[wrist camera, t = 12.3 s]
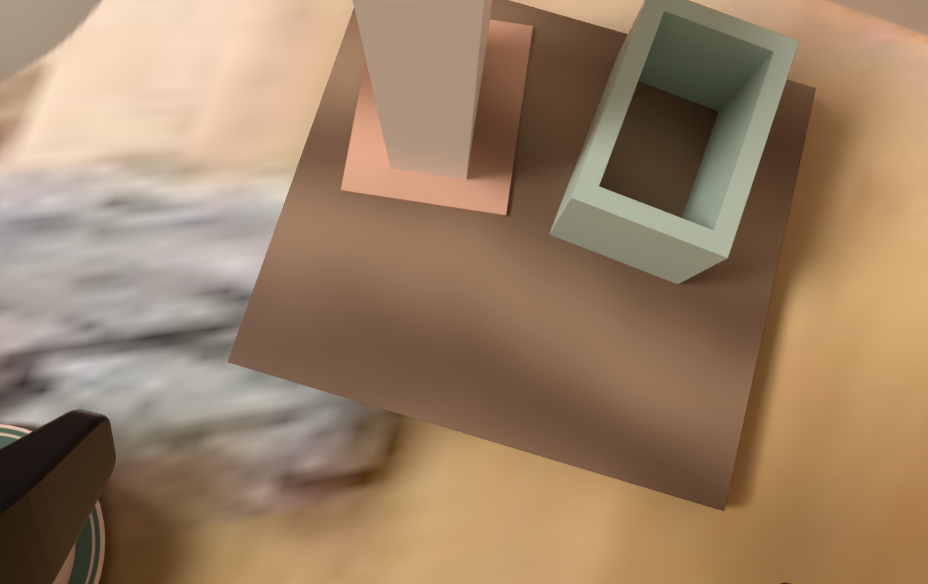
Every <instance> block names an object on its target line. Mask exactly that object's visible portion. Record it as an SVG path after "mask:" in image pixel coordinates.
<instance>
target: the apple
mask: <svg viewBox="0 0 928 584" xmlns="http://www.w3.org/2000/svg"><path fill="white" fill-rule="evenodd" d="M30 432H32V431H30V430H28V429H25V428H21V427H16V426H12V425H4V424H0V448H2V447H4V446H6V445H8V444H10V443H12V442H14V441H15V440H17V439H19V438H21V437H23V436H25V435H27V434H28V433H30ZM104 555H105V529H104V520H103V515H102V511H101V506H100V503H99V500H97V502H96V504H95V506H94V508H93V510H92V512H91V514H90V516H89V518H88V519H87V521H86V523H85V525H84V527H83V529H82V531H81V533H80V535H79V536H78V538H77V540H76V542H75V544H74V546H73V548H72V550H71V552H70V554H69V555H68V557H67V559H66V561H65V563H64V565H63V567H62V568H61V570H60V572H59V574H58V576H57V577H56V579H55V581H54V582H53V584H98V583H99V580H100V576H101V573H102V567H103V561H104Z"/></svg>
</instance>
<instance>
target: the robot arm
mask: <svg viewBox="0 0 928 584" xmlns="http://www.w3.org/2000/svg"><path fill="white" fill-rule="evenodd" d="M115 460H116V453H115V448H114V442H113V436H112V430H111V424H110V421H109V419H108V418H107V417H106V416H105V415H102V414H98V413H94V412H90V411H86V410H79V409H78V410H73V411H70V412H68V413H66V414H64V415H62V416H60V417H58V418H56V419H55V420H53V421H51V422H49V423H47V424H45V425H43V426H42V427H40V428H38V429H36V430H34V431H32V432H30V433H28V434H27V435H25V436H23V437H21V438H19V439H17V440H15V441H14V442H12V443H10V444H8V445H6V446H4V447H2V448H0V584H53V582H54V581H55V579H56V577H57V576H58V574H59V572H60V570H61V568H62V567H63V565H64V563H65V561H66V559H67V557H68V555H69V554H70V552H71V550H72V548H73V546H74V544H75V542H76V540H77V538H78V536H79V535H80V533H81V531H82V529H83V527H84V525H85V523H86V521H87V519H88V518H89V516H90V514H91V512H92V510H93V508H94V506H95V504H96V502H97V500H98V499H99V497H100V495H101V493H102V491H103V489H104V487H105V485H106V483H107V481H108V480H109V478H110V476H111V474H112V471H113V469H114V466H115ZM781 584H790V583H781Z"/></svg>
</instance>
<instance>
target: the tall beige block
mask: <svg viewBox="0 0 928 584" xmlns="http://www.w3.org/2000/svg"><path fill="white" fill-rule="evenodd" d="M353 4H354V8H355V13H356V17H357V22H358V26H359V31H360V35H361V40H362V44H363V49H364V53H365V58H366V62H367V67H368V71H369V75H370V80H371V84H372V89H373V93H374V98H375V102H376V107H377V111H378V116H379V120H380V125H381V129H382V134H383V138H384V142H385V147H386V151H387V156H388V160H389V165H390V168H393V169H399V170H406V171H413V172H419V173H426V174H432V175H439V176H446V177H452V178H459V179H467V173H468V166H469V159H470V153H471V146H472V140H473V133H474V127H475V120H476V114H477V107H478V101H479V94H480V88H481V81H482V75H483V68H484V62H485V55H486V49H487V41H488V33H489V24H490V16H491V8H492V0H353Z"/></svg>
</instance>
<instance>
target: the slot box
mask: <svg viewBox="0 0 928 584" xmlns="http://www.w3.org/2000/svg"><path fill="white" fill-rule="evenodd" d="M798 43H799V41H797V40H794V39H791V38H789V37H786V36H783V35H781V34H778V33H775V32H773V31H770V30H767V29H765V28H762V27H759V26H756V25H754V24H751V23H748V22H746V21H743V20H740V19H738V18H735V17H732V16H729V15H727V14H724V13H721V12H719V11H716V10H713V9H711V8H708V7H705V6H703V5H700V4H697V3H694V2H692V1H689V0H645V1H644V3H643V5H642V7H641V9H640V11H639V13H638V15H637V17H636V19H635V21H634V23H633V25H632V27H631V29H630V31H629V33H628V35H627V37H626V40H625V42H624V44H623V46H622V48H621V50H620V52H619V54H618V56H617V58H616V61H615V63H614V66H613V69H612V71H611V74H610V76H609V79H608V82H607V84H606V87H605V90H604V92H603V95H602V97H601V100H600V103H599V105H598V108H597V111H596V113H595V116H594V118H593V121H592V124H591V126H590V129H589V131H588V134H587V137H586V139H585V142H584V145H583V147H582V150H581V152H580V155H579V158H578V160H577V163H576V166H575V168H574V171H573V173H572V176H571V179H570V181H569V184H568V186H567V189H566V192H565V194H564V197H563V200H562V202H561V205H560V207H559V210H558V213H557V215H556V218H555V221H554V223H553V226H552V228H551V231H550V234H549V235H552V236H554V237H557V238H559V239H562V240H565V241H567V242H570V243H572V244H575V245H578V246H580V247H583V248H585V249H588V250H590V251H593V252H596V253H598V254H601V255H603V256H606V257H609V258H611V259H614V260H616V261H619V262H621V263H624V264H627V265H629V266H632V267H634V268H637V269H640V270H642V271H645V272H647V273H650V274H652V275H655V276H658V277H660V278H663V279H665V280H668V281H671V282H673V283H676V284H679V283H681V282H683V281H685V280H687V279H689V278H691V277H693V276H695V275H696V274H698V273H700V272H702V271H704V270H706V269H708V268H710V267H712V266H714V265H715V264H717V263H719V262H721V261H723V260H725V259H727V258H728V256H729V253H730V250H731V247H732V244H733V241H734V238H735V235H736V232H737V229H738V226H739V223H740V219H741V216H742V213H743V210H744V207H745V204H746V201H747V198H748V195H749V192H750V189H751V186H752V183H753V180H754V177H755V174H756V171H757V168H758V165H759V162H760V159H761V156H762V153H763V150H764V147H765V144H766V141H767V138H768V134H769V131H770V128H771V125H772V122H773V119H774V116H775V113H776V110H777V107H778V104H779V101H780V98H781V95H782V92H783V89H784V86H785V83H786V80H787V77H788V74H789V71H790V68H791V65H792V62H793V59H794V56H795V52H796V49H797V46H798ZM638 81H639V82H642V83H644V84H647V85H650V86H652V87H655V88H658V89H660V90H663V91H666V92H668V93H671V94H674V95H676V96H679V97H682V98H684V99H687V100H690V101H692V102H695V103H698V104H700V105H703V106H706V107H708V108H711V109H714V110H716V111H719V112H718V114H717V117H716V120H715V123H714V126H713V129H712V132H711V135H710V138H709V140H708V143H707V146H706V149H705V152H704V155H703V158H702V161H701V164H700V166H699V169H698V172H697V175H696V178H695V181H694V184H693V187H692V190H691V192H690V195H689V198H688V201H687V204H686V207H685V210H684V213H683V216H682V218H680V217H677V216H675V215H672V214H670V213H667V212H664V211H662V210H659V209H657V208H654V207H651V206H649V205H646V204H644V203H641V202H638V201H636V200H633V199H630V198H628V197H625V196H623V195H620V194H617V193H615V192H612V191H610V190H607V189H604V188H602V187H599V185H600V182H601V179H602V177H603V174H604V171H605V169H606V166H607V163H608V161H609V158H610V155H611V152H612V150H613V147H614V144H615V142H616V139H617V136H618V134H619V131H620V128H621V126H622V123H623V120H624V118H625V115H626V112H627V110H628V107H629V104H630V102H631V99H632V96H633V93H634V91H635V88H636V85H637V83H638Z"/></svg>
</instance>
